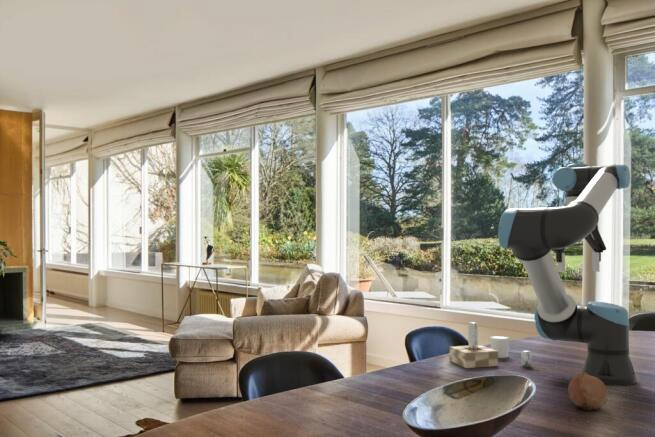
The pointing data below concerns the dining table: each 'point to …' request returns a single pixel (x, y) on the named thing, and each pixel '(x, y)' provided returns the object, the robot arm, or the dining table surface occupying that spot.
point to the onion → (587, 391)
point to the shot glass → (500, 345)
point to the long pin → (473, 335)
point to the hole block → (473, 356)
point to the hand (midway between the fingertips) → (578, 271)
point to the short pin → (526, 358)
